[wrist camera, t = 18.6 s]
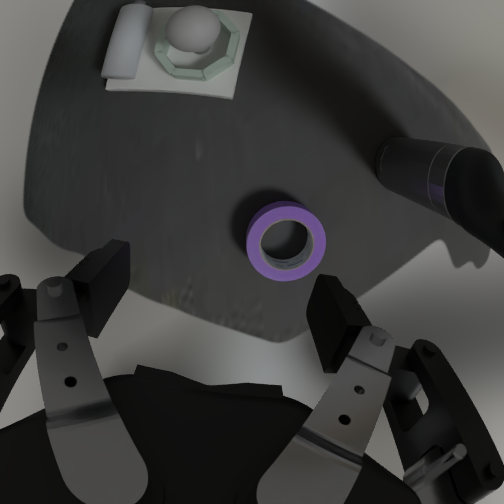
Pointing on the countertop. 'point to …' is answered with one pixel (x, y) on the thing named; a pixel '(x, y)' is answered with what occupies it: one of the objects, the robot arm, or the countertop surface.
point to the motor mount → (172, 54)
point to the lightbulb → (193, 29)
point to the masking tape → (292, 266)
